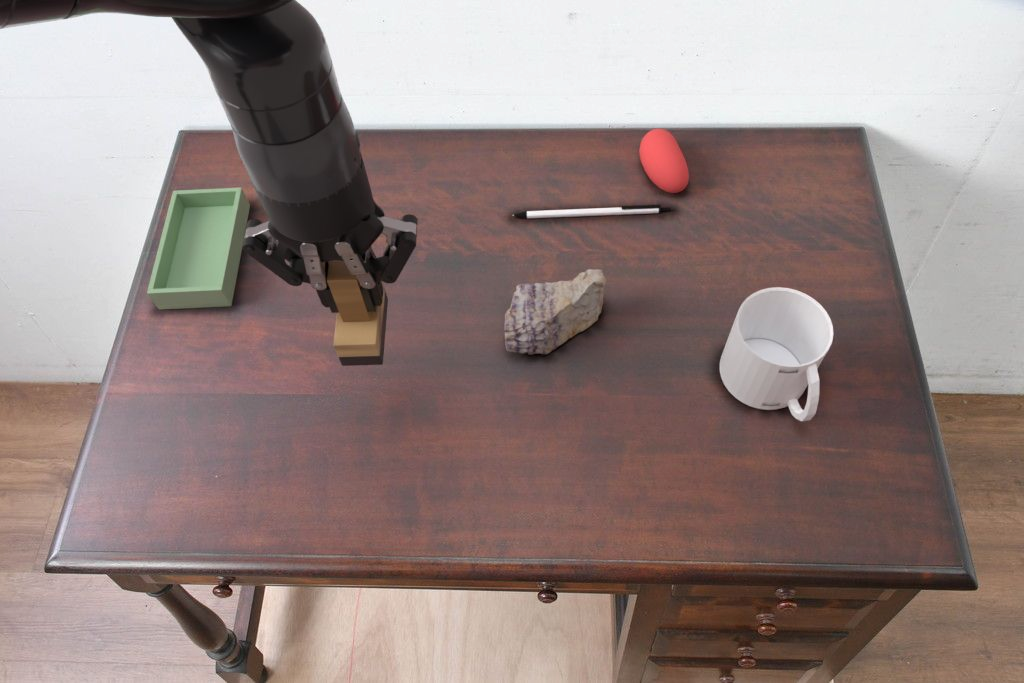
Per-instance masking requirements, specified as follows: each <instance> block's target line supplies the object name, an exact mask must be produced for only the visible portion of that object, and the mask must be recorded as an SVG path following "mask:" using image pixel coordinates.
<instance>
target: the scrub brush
mask: <svg viewBox="0 0 1024 683" xmlns="http://www.w3.org/2000/svg"><path fill="white" fill-rule="evenodd" d="M381 282H382V285H383V300H382V304H381V306H377V308H376V312H368V311H367V308H366V305H365V302H364V299H363V296H362V293H361V290H360V283H359V281H358V279H357V277H356V276H355V275H352V274H351V273H350V271H349V269H348V267H347V266H346V264H345V262H344V261H340V260H332V261H329V268H328V275H327V283H328V285H329V288H330V290H331V293H332V295H333V298H334V300H335V303H336V305H337V308H338V311H339V313H336V319H335V328H334V336H333V345H332V346H333V347H334V351H335V352H336V354H337V357H338V360H339V362H340V364H341V366H342V367H346V366H347V367H349V366H351V367H352V366H381V365H384V355H385V342H386V330H387V327H386V326H387V317H388V304H389V298H388V294H387V291H386V288H385V285H384V284H385V283H384V282H383V281H381Z"/></svg>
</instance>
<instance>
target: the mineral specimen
mask: <svg viewBox="0 0 1024 683" xmlns="http://www.w3.org/2000/svg"><path fill="white" fill-rule="evenodd" d="M606 279H607V278H606V277H605V275H604V272H603V270H602V269H599V268H596V269H592V268H589V269H586V271H583V272H579V273H578V275H576V277H574V278H573V279H569V280H558V281H555V282H554V281H553V282H549V281H546V282H542V283H541V282H540V283H539V282H535V283H528V282H526V283H523V284H522V283H521V284H518V285H516V290H515V292H513V296H512V300H511V302H510V303H511V304H510V307H509V309H508V310H506V312H504V324H503V326H504V327H503V330H504V340H505V342H504V345H505V350H506V351H507V352H509V353H519V354H528V355H535V354H541V355H548V354H550V353H551V352H552V351H554V350H556V349H557V348H558V347H559V346H561V345H564V343H566V342H567V341H568V340H569V339H572V338H574V336H576V335H577V334H579V333H581V332H584V331H585V330H587V329H588V328H590V327H591V326H592V325H594V324H595V323H596V322H597V321H598V320H599V316H600V315H601V314H602V310H603V304H604V297H605V287H606V285H607V281H606Z"/></svg>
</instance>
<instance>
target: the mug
mask: <svg viewBox="0 0 1024 683" xmlns="http://www.w3.org/2000/svg"><path fill="white" fill-rule="evenodd" d="M833 339H834V326H833V322H832V319H831V317H830V315H829V313H828V312H827V310H826V309H825V308H824V307H823V306H822V305H821V303H819V302H818V301H817V300H816V299H815V298H814V297H812V296H810V295H808V294H806V293H804V292H802V291H799V290H798V289H794V288H790V287H781V286H775V287H774V286H773V287H767V288H763V289H759V290H757V291H754V292H753V293H751V294H750V295H749V296H747V297H746V298H745V299H744V300H743V302H742V303H741V305H740V306H739V308H738V310H737V313H736V315H735V319H734V321H733V324H732V326H731V329H730V331H729V334H728V337H727V339H726V341H725V345H724V348H723V349H722V353H721V356H720V360H719V369H718V370H719V374H720V378H721V380H722V384H723V385H724V387H725V388H726V389H727V391H728V392H729V393H730V394H731V395H732V396H733V397H734V398H735V399H736V400H737V401H739V402H741V403H742V404H744V405H747V406H748V407H751V408H754V409H758V410H765V411H773V410H779V409H783V408H787V407H788V409H789V412H790V414H791V415H792V417H794V418H795V419H796V420H797V421H799V422H807V421H808V422H809V421H812V419H813V417H815V416H816V413H817V410H818V405H819V400H820V376H819V375H820V374H819V372H818V369H819V367H820V365H821V364H822V362H823V360H824V358H825V357H826V355H827V354H828V352H829V350H830V348H831V346H832V344H833ZM806 389H807V398H806V403H805V406H804V409H803V408H802V407H801V405H800V403H799V399H800V398H801V397H802V395H803V394H804V393H805V390H806Z"/></svg>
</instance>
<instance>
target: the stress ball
mask: <svg viewBox="0 0 1024 683" xmlns="http://www.w3.org/2000/svg"><path fill="white" fill-rule="evenodd" d="M638 153H639V158H640V159H639V160H640V162H641V165H642V168H643V170H644V172H645V173H646V175H647V177H648V178H649V179H650V180H651V182H652V183H653V184H654V185H655V186H657V187H658V189H661V190H662V191H664V192H666V193H670V194H679V193H680V192H682V191H683V190H685V189H686V188H687V185H688V184H689V181H690V172H689V167H688V164H687V161H686V159H685V156H684V154H683V152H682V150H681V148H680V146H679V143H678V142H677V140H676V138H675V137H674V136H673V134H672V133H671V132H669V131H668V130H667V129H665V128H654V129H650V130H649V131H648V132H647V133H646V134H645V135H644V136H643V137H642V138H641V141H640V144H639V152H638Z"/></svg>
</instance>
